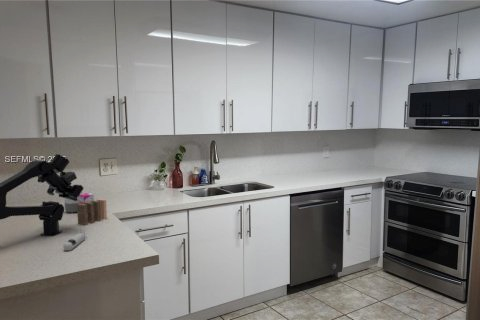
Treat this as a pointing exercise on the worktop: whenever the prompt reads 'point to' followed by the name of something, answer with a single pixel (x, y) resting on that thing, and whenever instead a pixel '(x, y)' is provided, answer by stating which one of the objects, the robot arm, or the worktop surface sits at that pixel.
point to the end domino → (103, 208)
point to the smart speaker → (71, 205)
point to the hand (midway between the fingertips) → (76, 200)
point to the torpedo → (74, 241)
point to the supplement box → (86, 198)
